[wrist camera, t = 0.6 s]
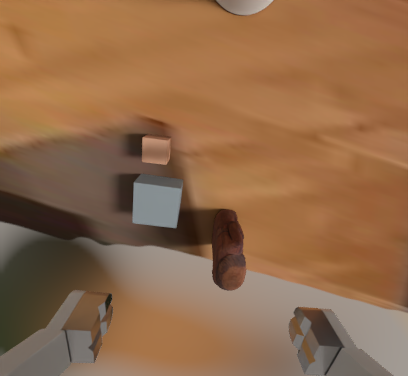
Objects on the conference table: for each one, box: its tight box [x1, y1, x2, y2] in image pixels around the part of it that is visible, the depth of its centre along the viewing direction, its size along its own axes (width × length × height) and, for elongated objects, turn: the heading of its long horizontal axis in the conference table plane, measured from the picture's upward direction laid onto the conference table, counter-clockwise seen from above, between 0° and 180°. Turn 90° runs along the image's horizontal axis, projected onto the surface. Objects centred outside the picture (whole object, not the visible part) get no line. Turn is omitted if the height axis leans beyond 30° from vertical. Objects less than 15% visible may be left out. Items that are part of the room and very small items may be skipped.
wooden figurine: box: [212, 210, 246, 290], centre depth 46 cm, size 12×6×18 cm, turn 172°
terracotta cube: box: [142, 134, 171, 165], centre depth 44 cm, size 5×5×5 cm
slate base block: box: [133, 174, 183, 228], centre depth 48 cm, size 10×10×6 cm
